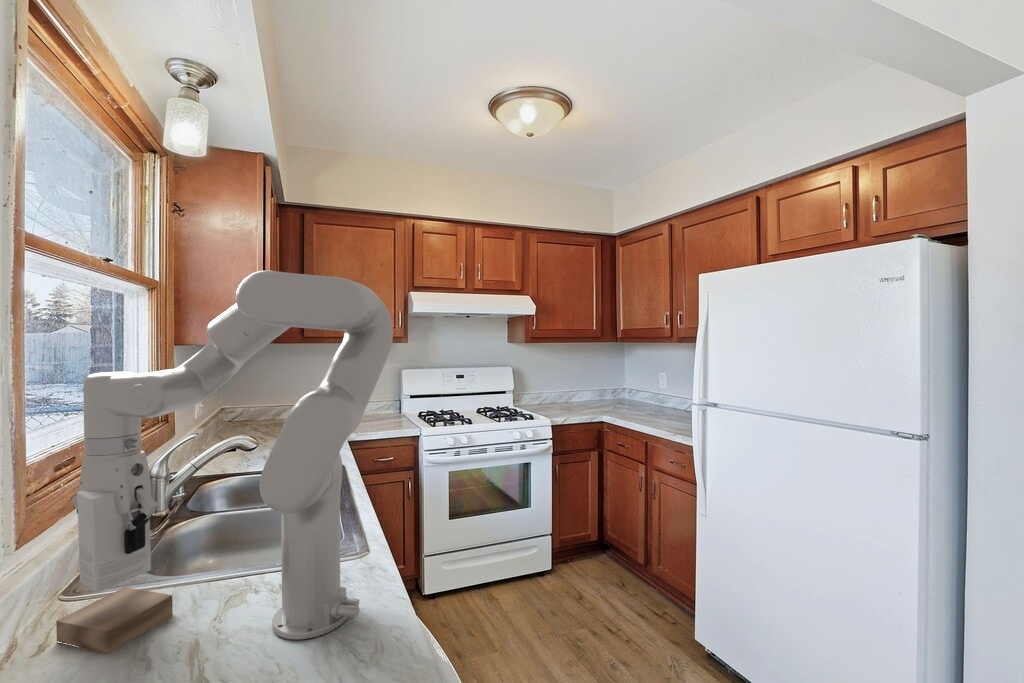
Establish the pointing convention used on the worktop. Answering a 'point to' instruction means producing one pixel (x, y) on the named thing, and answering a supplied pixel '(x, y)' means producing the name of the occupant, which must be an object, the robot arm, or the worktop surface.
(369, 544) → the worktop surface
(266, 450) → the worktop surface
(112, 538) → the skincare box
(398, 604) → the worktop surface
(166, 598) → the walnut block
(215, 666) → the worktop surface
